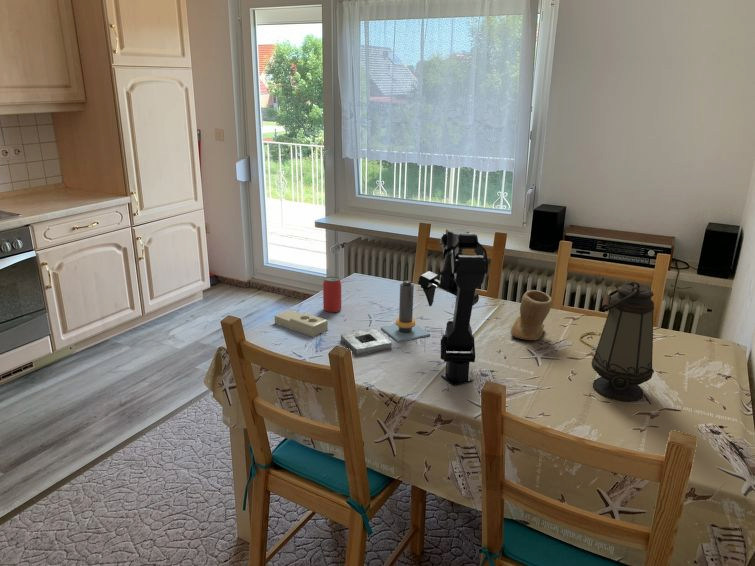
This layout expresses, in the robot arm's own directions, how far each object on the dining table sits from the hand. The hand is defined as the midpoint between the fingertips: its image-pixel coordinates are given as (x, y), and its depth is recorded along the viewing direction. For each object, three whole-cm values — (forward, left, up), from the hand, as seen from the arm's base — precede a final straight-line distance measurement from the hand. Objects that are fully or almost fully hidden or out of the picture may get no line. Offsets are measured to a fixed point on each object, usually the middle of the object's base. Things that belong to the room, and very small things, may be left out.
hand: (442, 312), depth 170 cm
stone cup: (-6, -31, -11) cm, 34 cm away
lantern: (-45, -27, -11) cm, 54 cm away
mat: (+13, +6, -11) cm, 18 cm away
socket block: (+10, +22, -11) cm, 26 cm away
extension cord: (-22, -46, -12) cm, 52 cm away
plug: (+13, +6, -10) cm, 17 cm away
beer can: (+42, +20, -11) cm, 48 cm away
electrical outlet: (+32, +35, -12) cm, 49 cm away
